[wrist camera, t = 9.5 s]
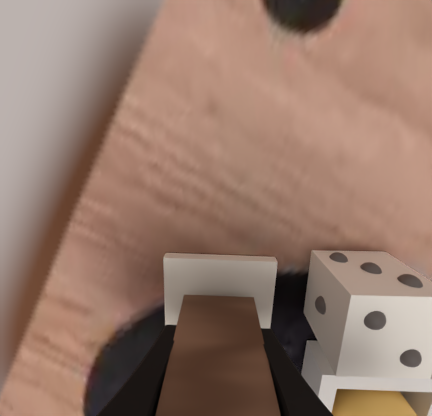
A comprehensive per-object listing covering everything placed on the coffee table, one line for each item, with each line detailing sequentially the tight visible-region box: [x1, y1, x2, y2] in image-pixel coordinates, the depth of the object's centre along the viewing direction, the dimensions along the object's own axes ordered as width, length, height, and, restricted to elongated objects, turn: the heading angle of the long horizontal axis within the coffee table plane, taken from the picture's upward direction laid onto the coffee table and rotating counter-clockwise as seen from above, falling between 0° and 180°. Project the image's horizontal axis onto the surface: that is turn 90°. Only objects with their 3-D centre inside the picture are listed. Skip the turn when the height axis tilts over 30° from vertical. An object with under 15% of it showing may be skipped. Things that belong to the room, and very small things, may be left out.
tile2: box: [163, 253, 278, 329], centre depth 13 cm, size 6×6×1 cm
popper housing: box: [301, 340, 432, 416], centre depth 14 cm, size 7×7×2 cm
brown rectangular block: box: [155, 295, 281, 416], centre depth 9 cm, size 4×4×6 cm
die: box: [303, 250, 432, 379], centre depth 11 cm, size 4×4×4 cm
